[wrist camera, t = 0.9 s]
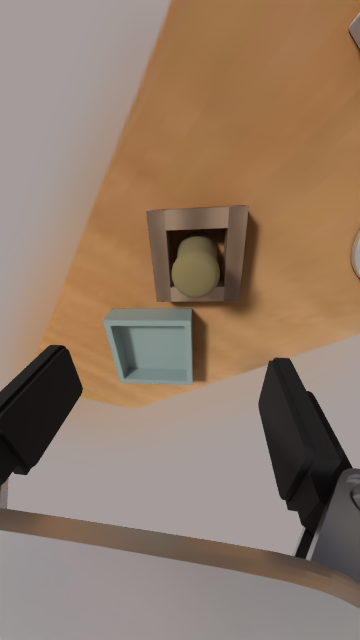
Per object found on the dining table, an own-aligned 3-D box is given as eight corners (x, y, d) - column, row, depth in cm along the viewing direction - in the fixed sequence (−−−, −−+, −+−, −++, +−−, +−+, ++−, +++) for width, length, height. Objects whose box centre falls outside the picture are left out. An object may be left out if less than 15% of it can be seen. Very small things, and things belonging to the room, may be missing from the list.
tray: (191, 308, 35) (190, 320, 32) (193, 369, 42) (192, 385, 39) (112, 308, 37) (102, 320, 33) (126, 367, 44) (120, 382, 40)
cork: (205, 280, 32) (207, 314, 23) (170, 263, 32) (156, 292, 22) (226, 243, 29) (237, 266, 20) (187, 224, 29) (180, 237, 19)
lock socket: (243, 205, 27) (248, 206, 24) (235, 291, 33) (238, 301, 30) (152, 209, 28) (146, 211, 25) (160, 292, 34) (157, 301, 31)
